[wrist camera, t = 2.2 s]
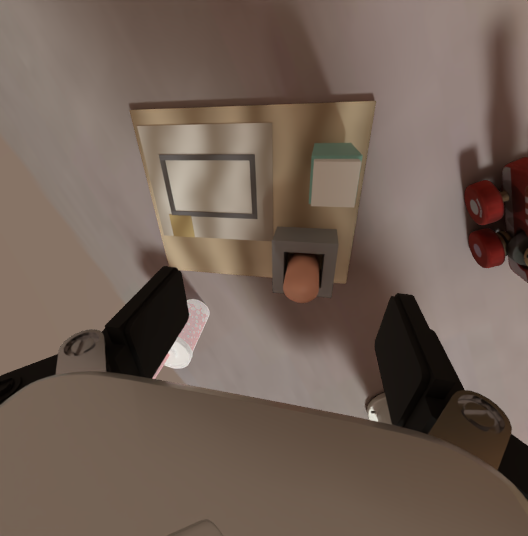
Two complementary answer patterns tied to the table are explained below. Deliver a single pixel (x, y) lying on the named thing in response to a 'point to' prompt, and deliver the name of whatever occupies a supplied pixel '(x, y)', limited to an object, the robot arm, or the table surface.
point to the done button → (302, 277)
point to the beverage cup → (187, 337)
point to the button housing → (305, 243)
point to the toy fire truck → (492, 209)
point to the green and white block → (334, 175)
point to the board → (244, 179)
